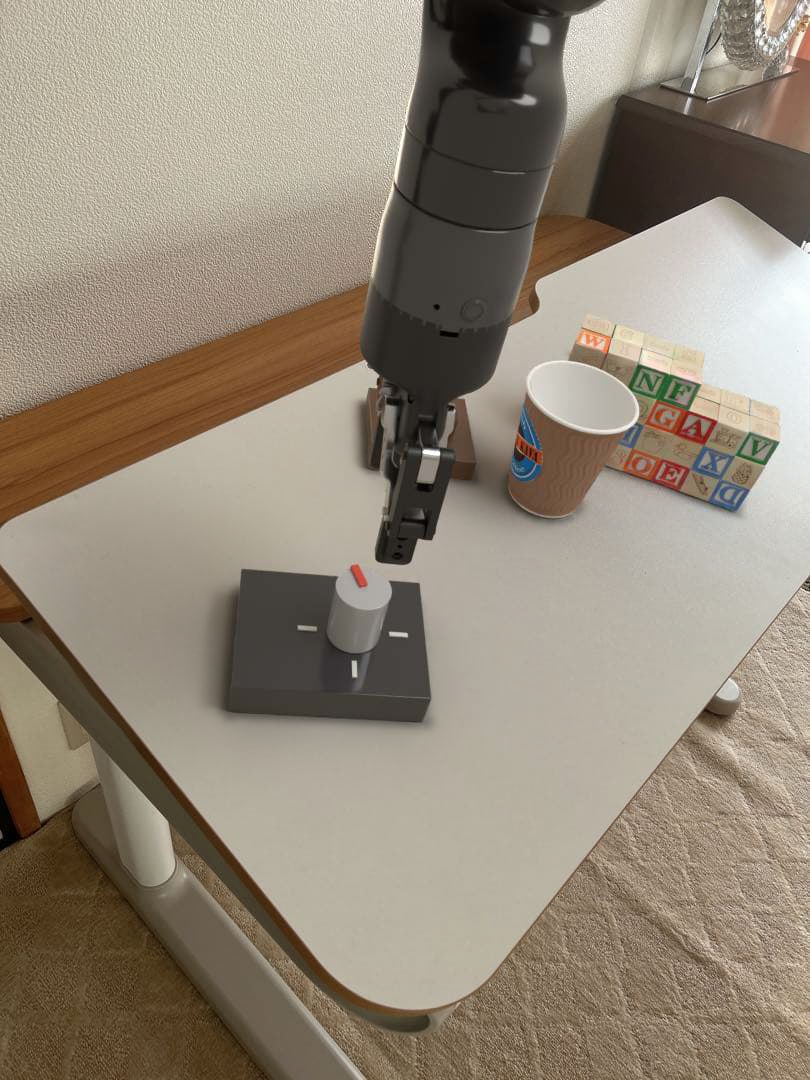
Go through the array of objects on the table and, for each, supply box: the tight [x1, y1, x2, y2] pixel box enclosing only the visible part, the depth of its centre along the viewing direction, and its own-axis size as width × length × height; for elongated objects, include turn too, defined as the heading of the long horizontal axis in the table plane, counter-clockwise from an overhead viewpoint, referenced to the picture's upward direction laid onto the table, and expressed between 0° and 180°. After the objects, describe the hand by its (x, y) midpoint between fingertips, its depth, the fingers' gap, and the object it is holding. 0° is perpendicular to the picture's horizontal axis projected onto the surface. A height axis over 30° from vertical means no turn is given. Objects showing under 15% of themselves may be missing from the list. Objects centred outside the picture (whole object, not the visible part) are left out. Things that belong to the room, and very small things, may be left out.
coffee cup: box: [508, 360, 639, 519], centre depth 81 cm, size 10×10×12 cm
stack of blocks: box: [567, 313, 781, 512], centre depth 88 cm, size 21×6×12 cm, turn 71°
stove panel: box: [228, 568, 432, 723], centre depth 66 cm, size 14×11×3 cm
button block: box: [364, 387, 478, 481], centre depth 86 cm, size 10×10×4 cm
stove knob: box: [326, 564, 392, 653], centre depth 64 cm, size 4×4×5 cm
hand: (388, 510), depth 56 cm, fingers open, 8 cm apart
